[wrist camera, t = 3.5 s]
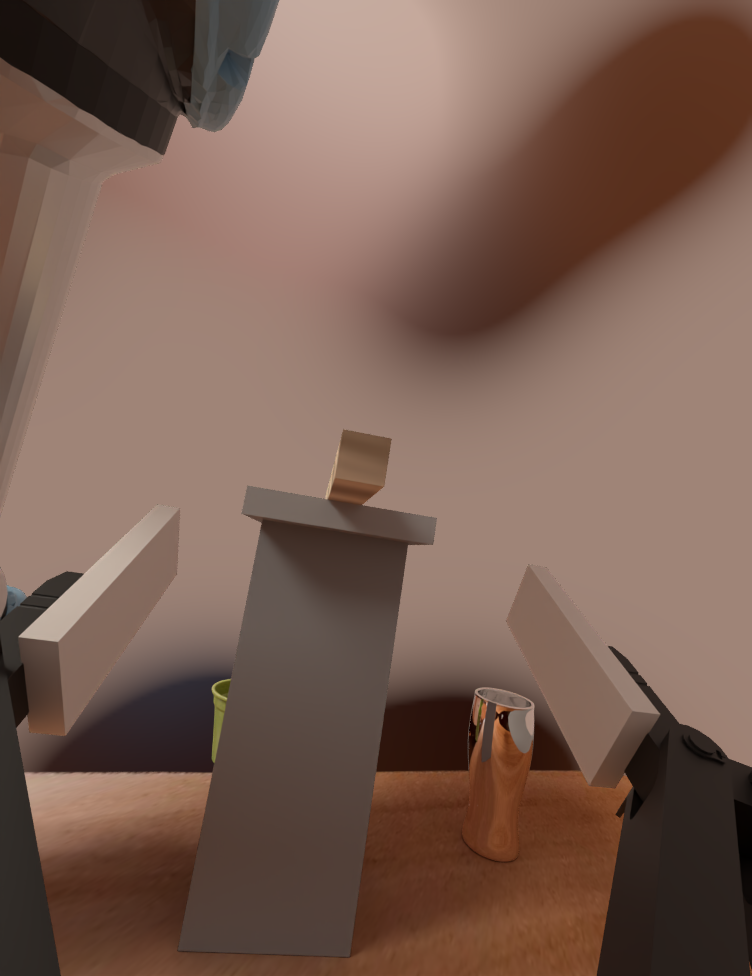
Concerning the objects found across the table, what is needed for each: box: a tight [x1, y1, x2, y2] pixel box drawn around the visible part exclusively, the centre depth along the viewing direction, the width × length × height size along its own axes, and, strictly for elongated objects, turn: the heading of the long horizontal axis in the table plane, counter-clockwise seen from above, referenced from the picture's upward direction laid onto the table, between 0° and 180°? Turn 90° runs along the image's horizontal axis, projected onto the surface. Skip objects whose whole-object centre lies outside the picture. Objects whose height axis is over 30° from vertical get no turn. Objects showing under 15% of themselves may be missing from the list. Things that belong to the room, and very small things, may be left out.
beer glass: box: [462, 688, 534, 862], centre depth 47 cm, size 7×7×15 cm
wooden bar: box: [325, 430, 391, 505], centre depth 34 cm, size 26×2×2 cm, turn 9°
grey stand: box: [178, 486, 437, 957], centre depth 36 cm, size 16×14×32 cm
